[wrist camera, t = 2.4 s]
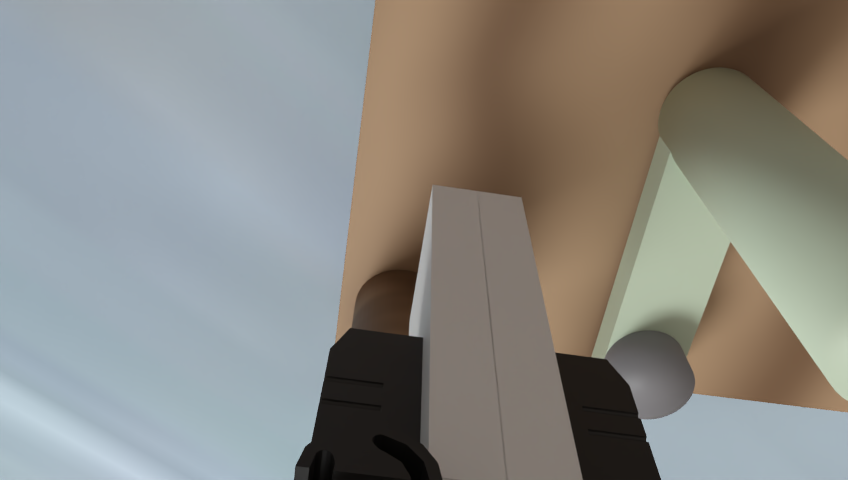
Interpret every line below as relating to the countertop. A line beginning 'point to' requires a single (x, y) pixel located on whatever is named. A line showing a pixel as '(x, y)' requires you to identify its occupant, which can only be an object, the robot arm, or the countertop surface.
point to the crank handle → (728, 235)
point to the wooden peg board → (578, 153)
